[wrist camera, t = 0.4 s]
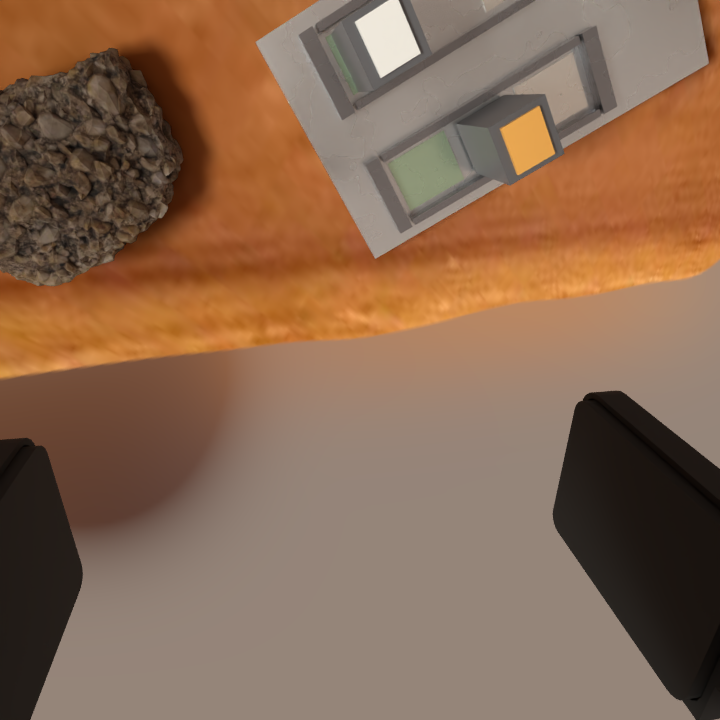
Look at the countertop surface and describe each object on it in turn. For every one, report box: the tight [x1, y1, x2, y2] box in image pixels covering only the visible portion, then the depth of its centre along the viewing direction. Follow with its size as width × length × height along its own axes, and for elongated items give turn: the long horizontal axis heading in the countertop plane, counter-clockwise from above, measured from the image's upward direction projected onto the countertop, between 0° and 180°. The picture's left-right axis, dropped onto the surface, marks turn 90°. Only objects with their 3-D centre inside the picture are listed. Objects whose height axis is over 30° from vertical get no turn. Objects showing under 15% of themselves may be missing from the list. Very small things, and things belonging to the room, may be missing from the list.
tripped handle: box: [456, 94, 564, 185], centre depth 27 cm, size 3×3×5 cm
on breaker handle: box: [330, 0, 432, 92], centre depth 25 cm, size 3×3×5 cm
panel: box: [256, 0, 709, 259], centre depth 29 cm, size 22×13×2 cm, turn 119°
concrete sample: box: [0, 48, 183, 286], centre depth 27 cm, size 12×10×5 cm
